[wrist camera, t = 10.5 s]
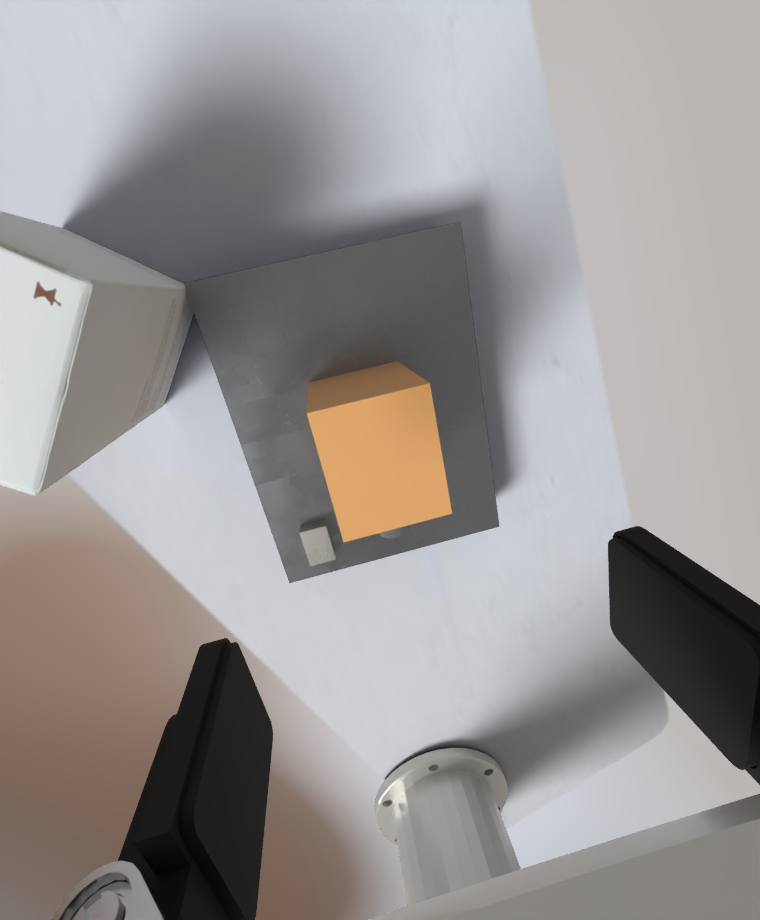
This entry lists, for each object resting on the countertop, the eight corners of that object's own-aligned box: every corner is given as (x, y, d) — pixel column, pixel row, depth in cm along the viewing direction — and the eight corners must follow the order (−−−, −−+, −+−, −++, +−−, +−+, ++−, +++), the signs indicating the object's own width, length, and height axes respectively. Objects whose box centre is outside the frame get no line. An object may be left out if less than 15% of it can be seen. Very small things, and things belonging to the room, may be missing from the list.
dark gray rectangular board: (482, 506, 31) (504, 532, 28) (291, 557, 30) (288, 590, 27) (443, 230, 25) (465, 218, 21) (198, 285, 24) (178, 282, 20)
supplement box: (58, 222, 22) (-236, 130, 10) (204, 291, 24) (101, 281, 12) (25, 358, 24) (-258, 412, 12) (163, 411, 26) (39, 503, 14)
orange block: (416, 478, 28) (458, 550, 20) (341, 498, 28) (354, 579, 20) (391, 357, 25) (429, 383, 17) (308, 377, 25) (306, 413, 17)
